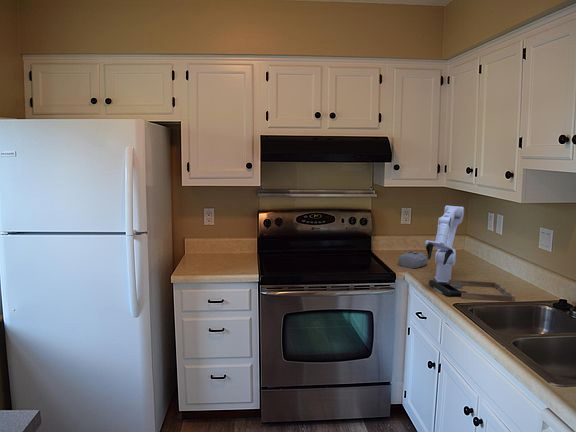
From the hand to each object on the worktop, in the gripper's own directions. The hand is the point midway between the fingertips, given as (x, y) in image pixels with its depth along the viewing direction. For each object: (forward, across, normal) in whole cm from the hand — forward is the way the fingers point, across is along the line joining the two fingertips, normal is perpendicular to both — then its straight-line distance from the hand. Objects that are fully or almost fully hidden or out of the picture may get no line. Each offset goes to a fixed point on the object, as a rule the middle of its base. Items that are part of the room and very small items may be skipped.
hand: (436, 261), depth 216 cm
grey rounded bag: (-19, 0, +53) cm, 56 cm away
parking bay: (+4, +26, +9) cm, 27 cm away
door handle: (+8, +12, +11) cm, 18 cm away
